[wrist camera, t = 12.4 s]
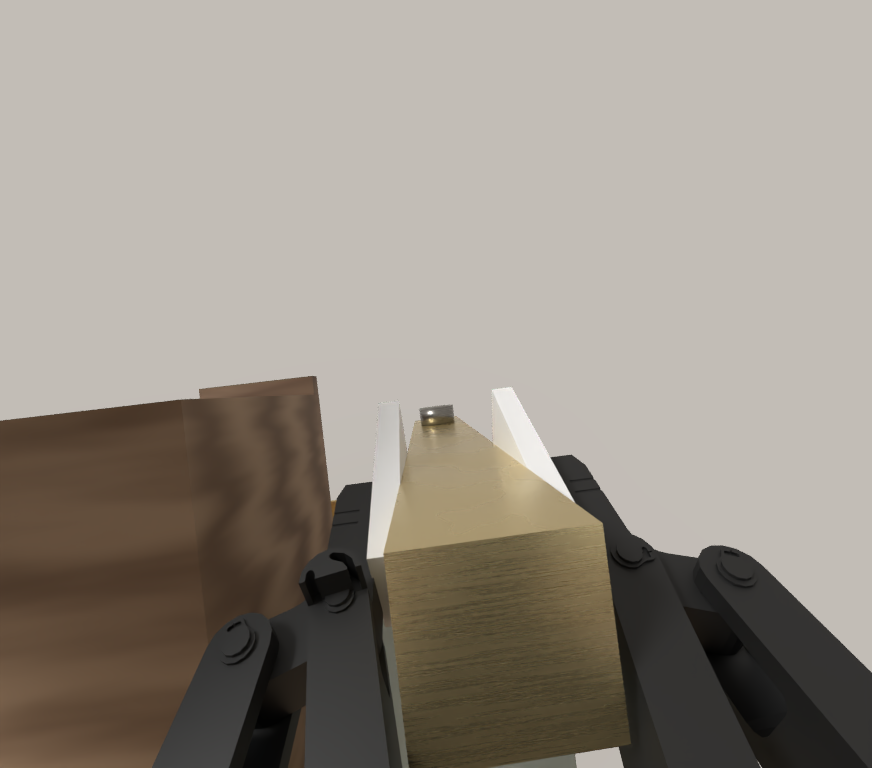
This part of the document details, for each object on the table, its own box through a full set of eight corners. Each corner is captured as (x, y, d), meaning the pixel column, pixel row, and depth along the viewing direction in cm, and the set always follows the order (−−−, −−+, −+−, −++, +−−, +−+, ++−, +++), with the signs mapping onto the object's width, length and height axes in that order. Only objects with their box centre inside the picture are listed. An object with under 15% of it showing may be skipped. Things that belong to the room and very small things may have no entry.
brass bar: (631, 744, 6) (593, 447, 6) (410, 780, 6) (374, 476, 6) (460, 456, 32) (454, 402, 32) (420, 462, 32) (413, 407, 32)
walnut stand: (309, 1307, 12) (202, 350, 13) (-75, 1389, 12) (-175, 393, 12) (379, 738, 32) (336, 374, 33) (237, 760, 32) (196, 391, 32)
